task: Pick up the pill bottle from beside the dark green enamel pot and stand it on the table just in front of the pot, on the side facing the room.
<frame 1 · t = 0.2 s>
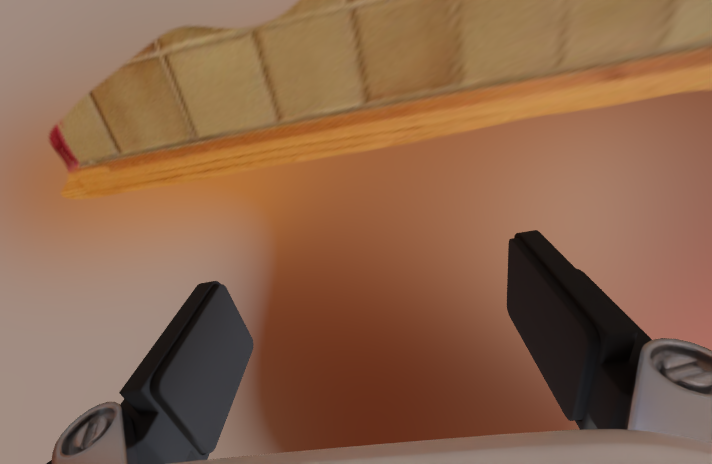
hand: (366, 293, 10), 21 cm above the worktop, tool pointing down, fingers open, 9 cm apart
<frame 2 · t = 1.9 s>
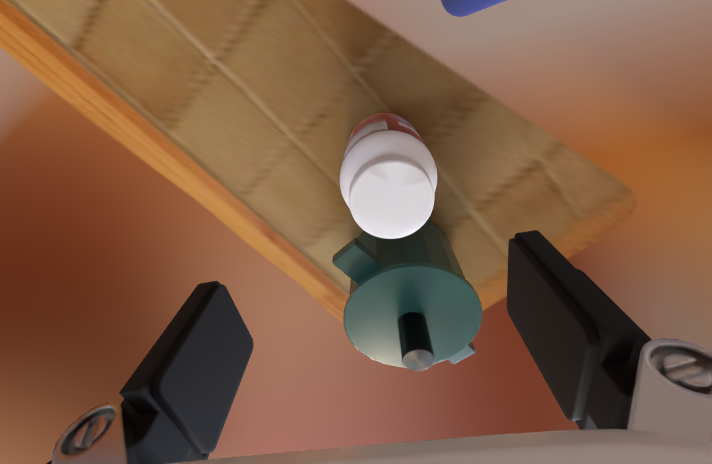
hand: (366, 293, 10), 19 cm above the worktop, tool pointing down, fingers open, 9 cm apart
pot lid: (411, 317, 25), point 8 cm above the worktop, touching pot
pill bottle: (382, 149, 27), on the worktop
pot: (400, 257, 32), on the worktop
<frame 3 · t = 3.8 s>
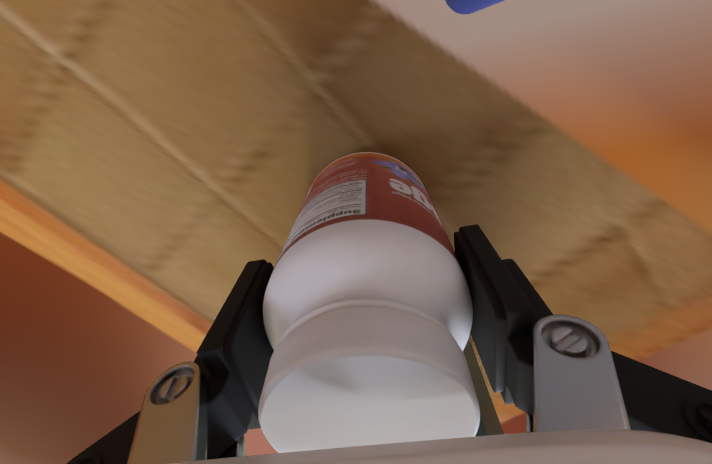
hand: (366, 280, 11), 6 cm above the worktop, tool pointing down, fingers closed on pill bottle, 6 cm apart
pill bottle: (366, 206, 16), on the worktop, touching gripper
pot: (396, 354, 22), on the worktop
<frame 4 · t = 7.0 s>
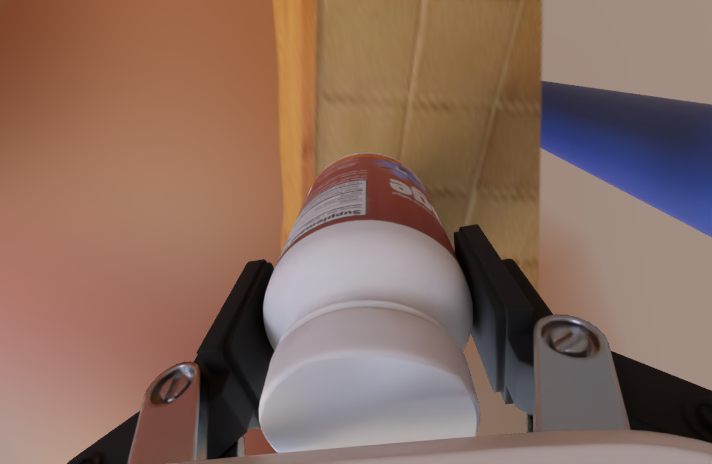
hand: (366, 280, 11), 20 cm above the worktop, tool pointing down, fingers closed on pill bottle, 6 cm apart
pill bottle: (366, 206, 16), point 14 cm above the worktop, touching gripper
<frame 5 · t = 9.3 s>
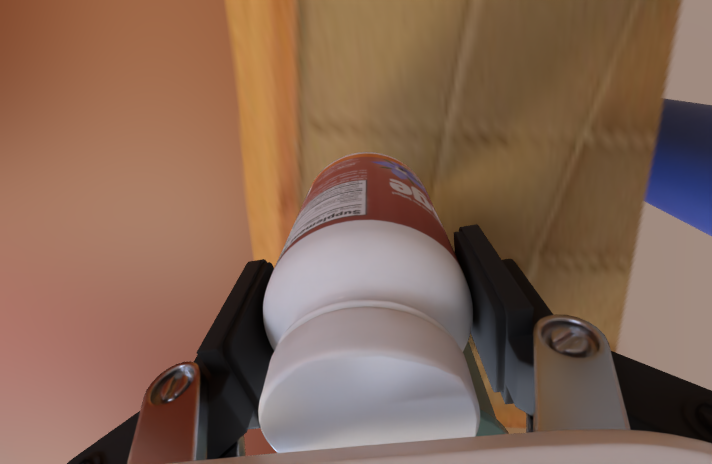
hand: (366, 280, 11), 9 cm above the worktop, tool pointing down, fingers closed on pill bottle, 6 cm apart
pot lid: (409, 456, 17), point 8 cm above the worktop, touching pot
pill bottle: (366, 206, 16), point 2 cm above the worktop, touching gripper
pot: (396, 335, 24), on the worktop
when the fingers open (6 cm above the worktop, at t = 10.5 s): pill bottle stays where it is, on the worktop.
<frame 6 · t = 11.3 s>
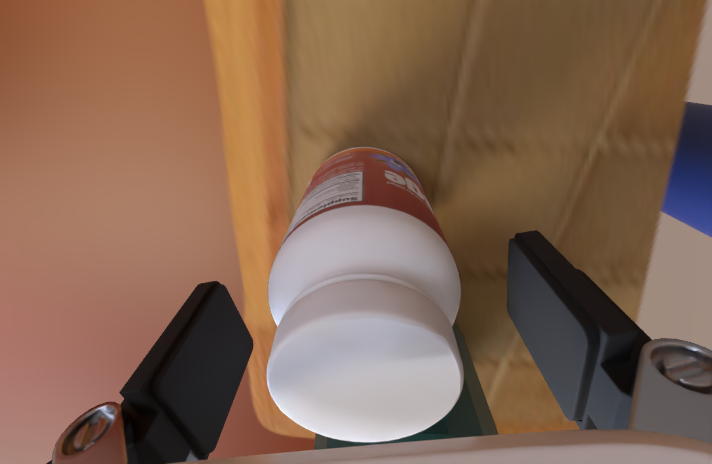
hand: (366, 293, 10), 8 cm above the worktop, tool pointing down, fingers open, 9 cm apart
pill bottle: (363, 199, 17), on the worktop
pot: (394, 352, 23), on the worktop
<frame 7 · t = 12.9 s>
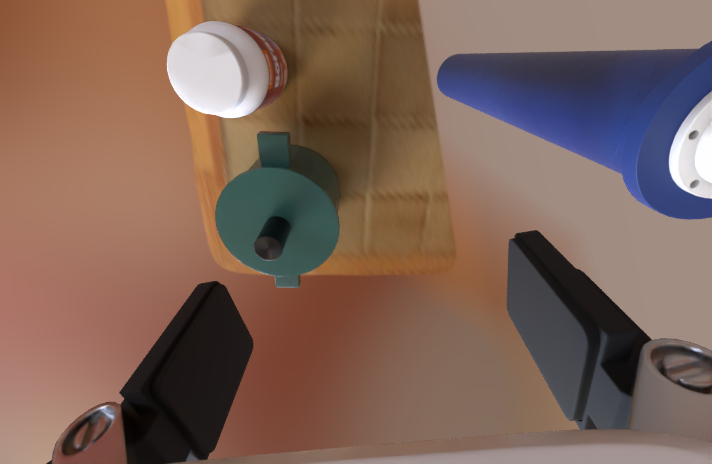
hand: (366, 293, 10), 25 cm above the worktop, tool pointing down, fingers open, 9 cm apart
pot lid: (279, 224, 28), point 8 cm above the worktop, touching pot
pill bottle: (255, 69, 29), on the worktop
pot: (295, 189, 35), on the worktop
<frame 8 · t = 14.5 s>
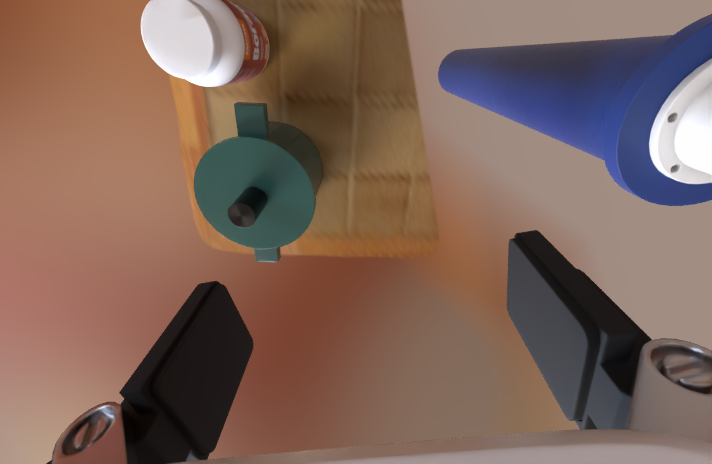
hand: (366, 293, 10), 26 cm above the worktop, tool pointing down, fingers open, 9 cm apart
pot lid: (256, 196, 28), point 8 cm above the worktop, touching pot
pill bottle: (239, 44, 30), on the worktop
pot: (278, 167, 36), on the worktop
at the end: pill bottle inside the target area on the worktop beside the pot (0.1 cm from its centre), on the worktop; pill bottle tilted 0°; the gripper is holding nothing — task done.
